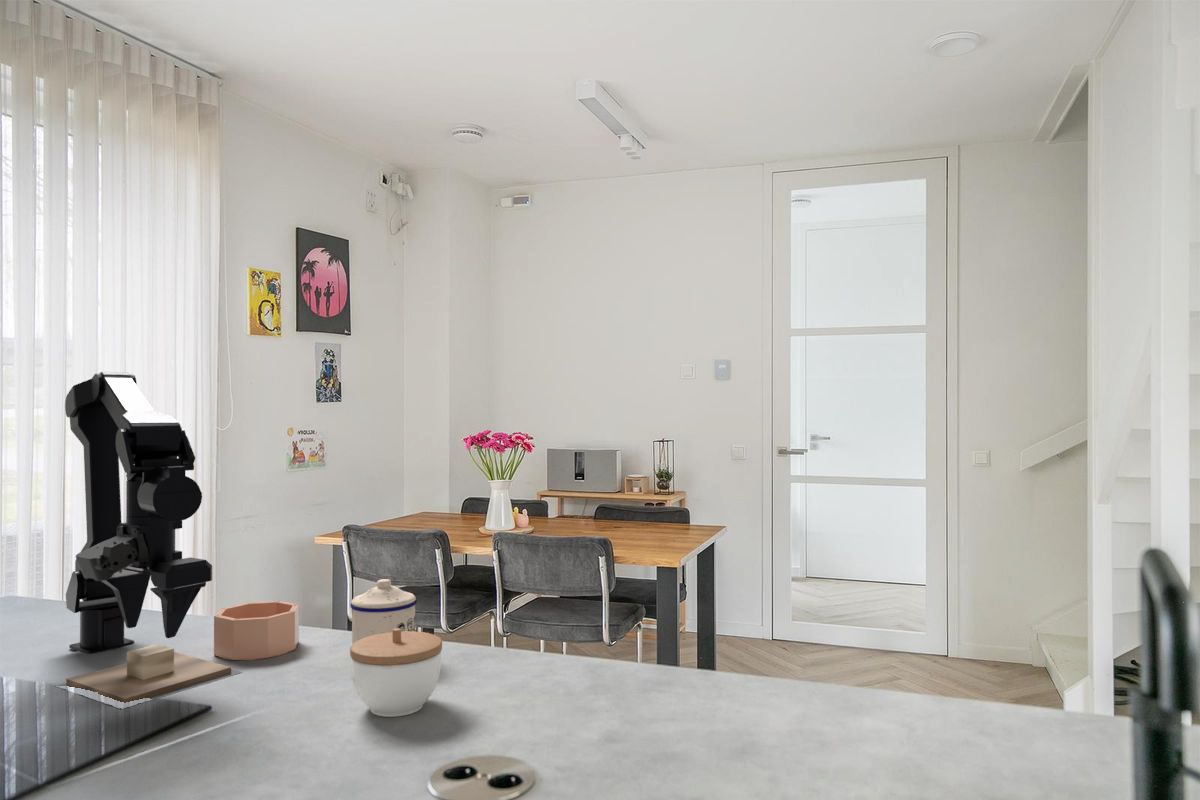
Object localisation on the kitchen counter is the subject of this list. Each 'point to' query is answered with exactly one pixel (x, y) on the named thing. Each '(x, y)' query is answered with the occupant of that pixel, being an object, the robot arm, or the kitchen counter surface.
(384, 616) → the teacup with lid
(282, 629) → the bowl
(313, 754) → the kitchen counter surface
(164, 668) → the cover
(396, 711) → the lidded jar
